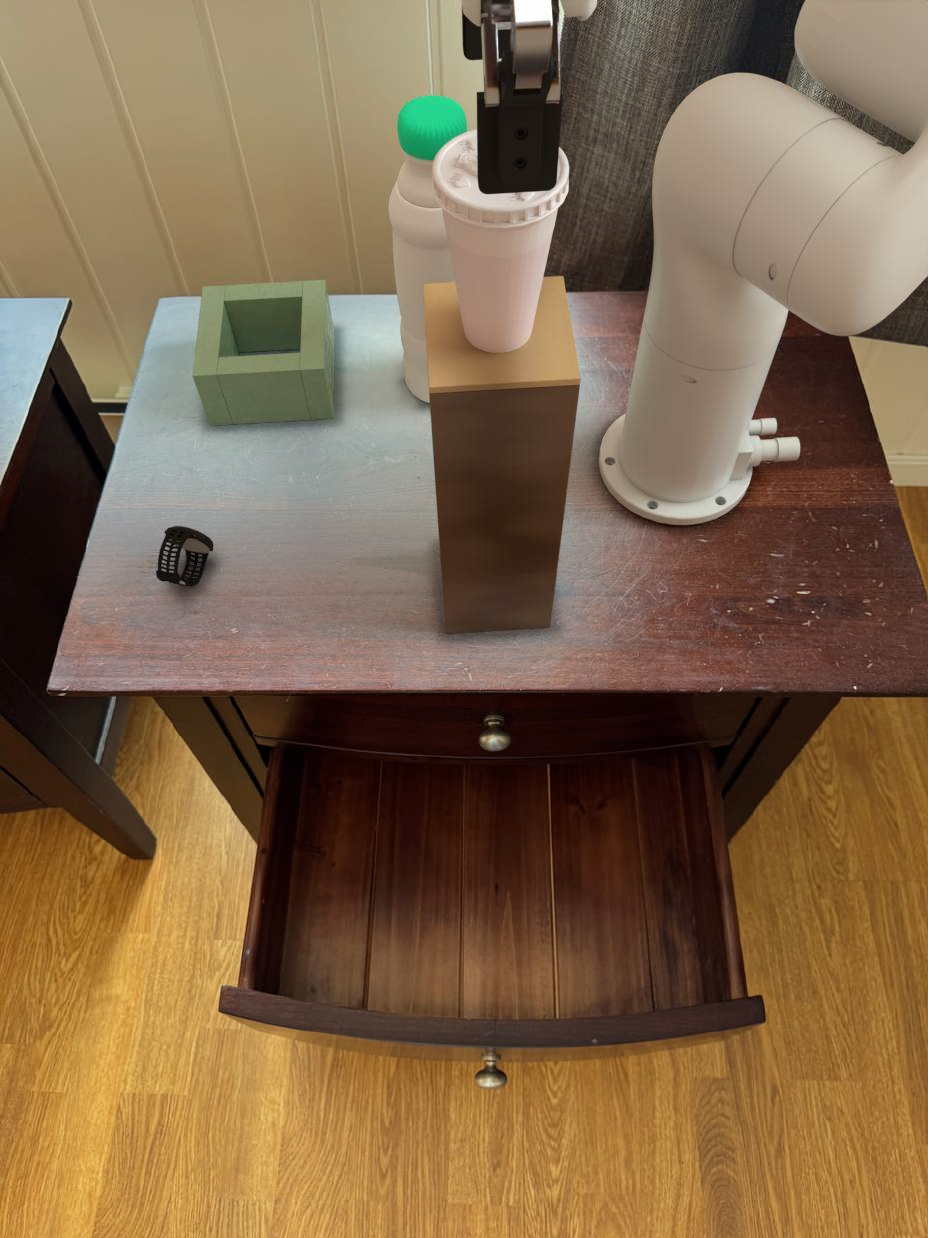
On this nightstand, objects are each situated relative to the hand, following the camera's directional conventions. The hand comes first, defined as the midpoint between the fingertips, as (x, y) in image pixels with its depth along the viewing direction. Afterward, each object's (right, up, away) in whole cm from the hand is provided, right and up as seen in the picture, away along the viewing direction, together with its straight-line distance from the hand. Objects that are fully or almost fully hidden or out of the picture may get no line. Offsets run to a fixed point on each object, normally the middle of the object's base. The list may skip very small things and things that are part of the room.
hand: (506, 117), depth 42 cm
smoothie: (0, -6, +10) cm, 12 cm away
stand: (-19, 0, +44) cm, 48 cm away
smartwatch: (-24, -19, +34) cm, 45 cm away
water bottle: (-4, -1, +44) cm, 44 cm away
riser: (0, -19, +33) cm, 38 cm away
